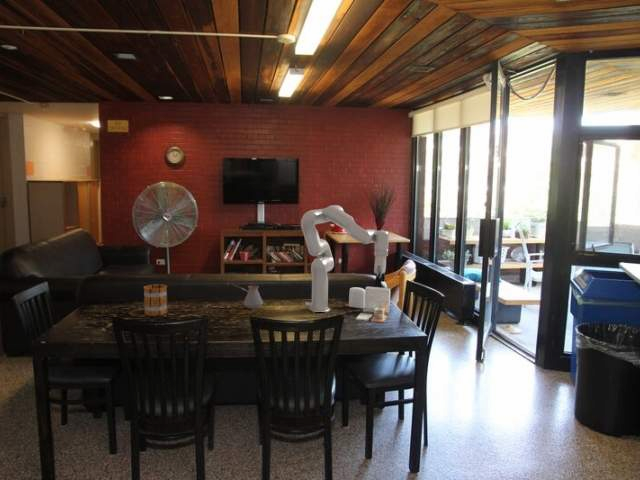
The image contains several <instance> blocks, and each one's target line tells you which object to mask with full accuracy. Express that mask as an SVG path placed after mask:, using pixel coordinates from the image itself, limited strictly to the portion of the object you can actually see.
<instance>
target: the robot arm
mask: <svg viewBox="0 0 640 480" xmlns="http://www.w3.org/2000/svg"><path fill="white" fill-rule="evenodd" d="M328 222H332V224H333V223H334V224H335V225H336V226H337V227H340V228H341V229H343V230H344V232H346V233H347V235H349V236H350V237H351V238H353V239H354V240H356V241H357V242H359V243H361V244H363V245H368V244H371V243H374V257H375V258H374V267H373V268H374V269H373V273H374V274H375V279H374V280H375V281H374V283H375V284H374V285H376V286H381V285H382V283H383V282H385V281H386V279H385V278H386V277H385V276H386V275H385V274H386V270H387V269H386V268H387V257H388V256H389V244H390V243H389V241H390V240H389V239H390V233H389V231H387V230H376V229H372V228H371V229H364V228H363V227H361V226H360V225H358V224H357V223H356V222H355V220H354V217H353V216H351V214H350V215H349V214H348V213H346V212H345V210H344V208H343V207H342V206H340V205H337V204H333V205H332V204H331V205H328V206H327V207H324V208H320V209H311V210H309V211H307V212H305V213H303V216H302V218H301V219H300V226H301V230H302V233H303V236H304V240H305V244H306V246H307V251H308V254H309V255H310V256H312V257H317V258H315V259H314V260H313V261H312V262H311V265H310V272H311V301H310V302H307V301H305V302H304V306H306V307H308V311H309V310H311V311H314V312H313V313H315V312H325V313H329V312H330V311H331V308H330V307H328V306H329V305H328V300H329V277H328V272H331V271H332V270H333V268H334V267H335V262H334V261H335V260H334V257H333V255H332V251H331V247H330V244H329V243H328V242H327V240H326V239H324V238H320V237H321V236H320V235H319V231H318V229H317V228H316V225H320V224H325V223H328ZM311 311H310V312H311Z"/></svg>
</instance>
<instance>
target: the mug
mask: <svg viewBox="0 0 640 480" xmlns="http://www.w3.org/2000/svg"><path fill="white" fill-rule="evenodd" d="M167 291H168V285H166V284H160V283H159V284H157V283H156V284H148V285H143V297H144V298H143V305H144V312H143V315H146V316H162V315H166V314H168V294H167Z"/></svg>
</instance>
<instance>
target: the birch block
mask: <svg viewBox="0 0 640 480" xmlns="http://www.w3.org/2000/svg"><path fill="white" fill-rule="evenodd" d="M384 311H385V308H375V309H374V314H373V317H374V318H375V319H383V318H384Z"/></svg>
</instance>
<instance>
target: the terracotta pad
mask: <svg viewBox="0 0 640 480" xmlns="http://www.w3.org/2000/svg"><path fill="white" fill-rule="evenodd" d="M387 318H388V315H384V318H383V319H375V318H374V316H372V317H371V318H370V322H372V323H384V322H385V321H386V319H387Z"/></svg>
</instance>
